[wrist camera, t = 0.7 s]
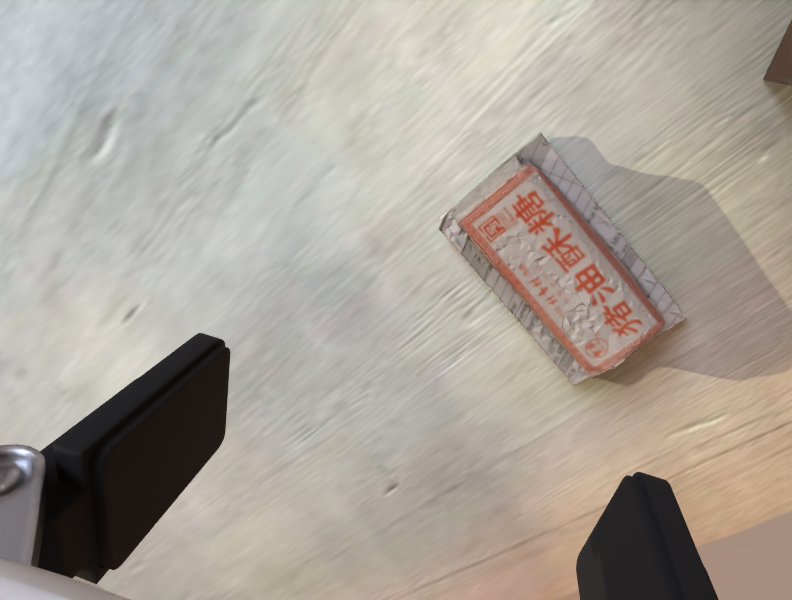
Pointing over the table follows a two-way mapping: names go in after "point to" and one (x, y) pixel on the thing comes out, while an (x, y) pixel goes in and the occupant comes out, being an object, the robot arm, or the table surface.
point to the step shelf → (782, 61)
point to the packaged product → (559, 263)
